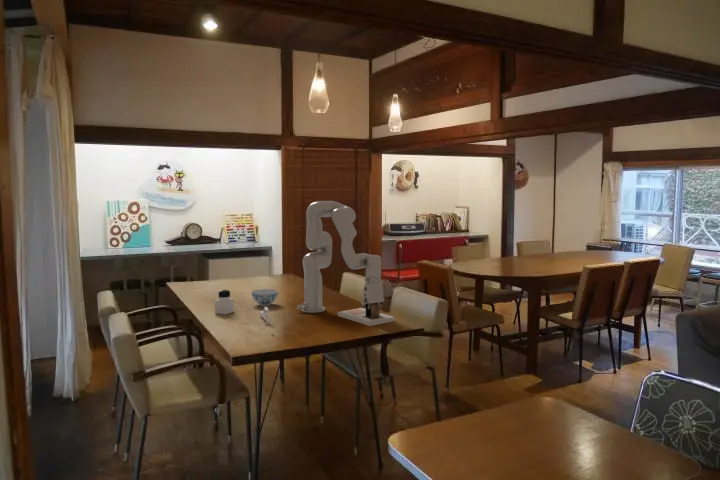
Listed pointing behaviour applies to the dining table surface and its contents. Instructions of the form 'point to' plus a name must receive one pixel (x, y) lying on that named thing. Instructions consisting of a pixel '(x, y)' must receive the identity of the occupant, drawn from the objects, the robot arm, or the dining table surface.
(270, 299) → the chinaware
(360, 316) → the pocket board
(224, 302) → the medicine bottle
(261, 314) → the llama figurine
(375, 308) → the walnut block
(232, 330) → the dining table surface
